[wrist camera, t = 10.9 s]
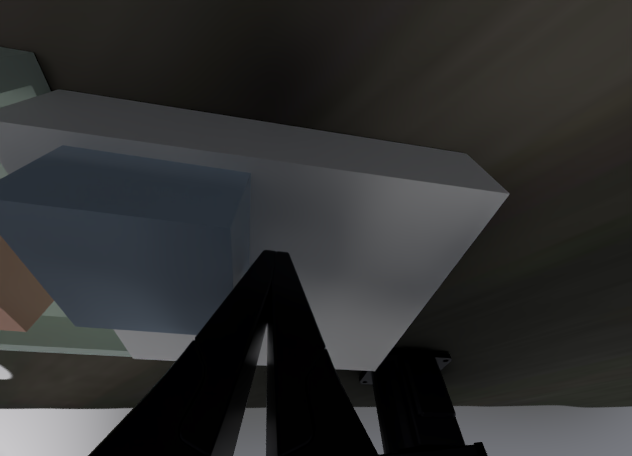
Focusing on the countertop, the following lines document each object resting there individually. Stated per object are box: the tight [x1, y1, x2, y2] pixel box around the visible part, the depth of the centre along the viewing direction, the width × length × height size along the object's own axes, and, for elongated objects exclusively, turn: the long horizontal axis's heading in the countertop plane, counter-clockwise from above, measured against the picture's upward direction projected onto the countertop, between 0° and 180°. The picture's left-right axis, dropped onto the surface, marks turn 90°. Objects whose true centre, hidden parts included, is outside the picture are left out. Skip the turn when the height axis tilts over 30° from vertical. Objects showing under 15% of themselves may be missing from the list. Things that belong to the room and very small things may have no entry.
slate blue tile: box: [0, 145, 251, 335], centre depth 8 cm, size 5×5×2 cm
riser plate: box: [0, 89, 509, 371], centre depth 13 cm, size 14×15×3 cm
